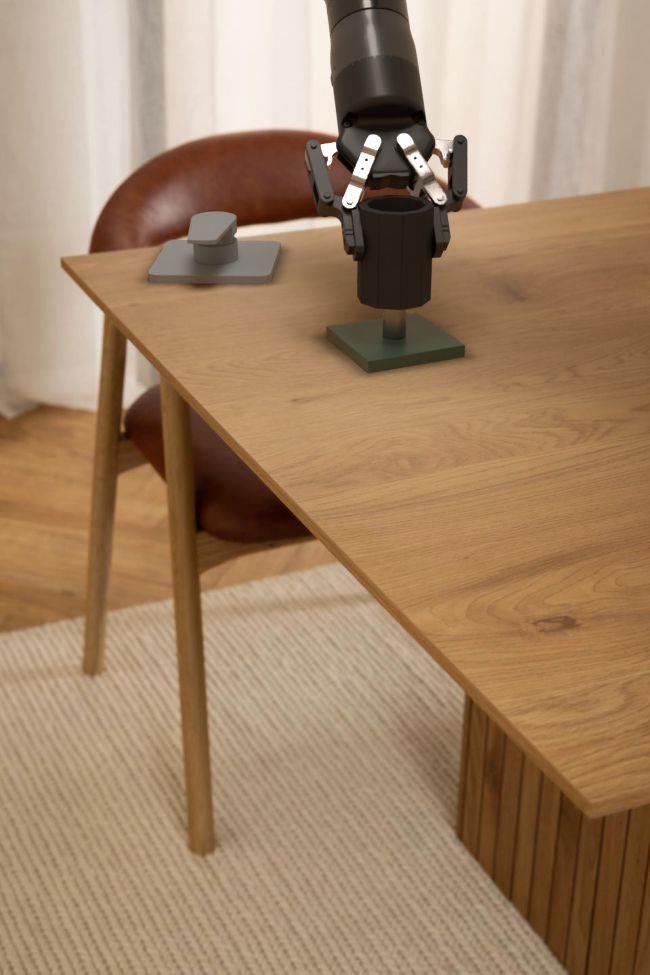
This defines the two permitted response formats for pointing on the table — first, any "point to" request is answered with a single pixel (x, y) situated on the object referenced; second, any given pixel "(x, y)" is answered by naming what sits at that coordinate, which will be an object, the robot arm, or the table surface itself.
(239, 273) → the shower valve
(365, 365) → the holder
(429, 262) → the faceted pencil cup
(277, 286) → the table surface
